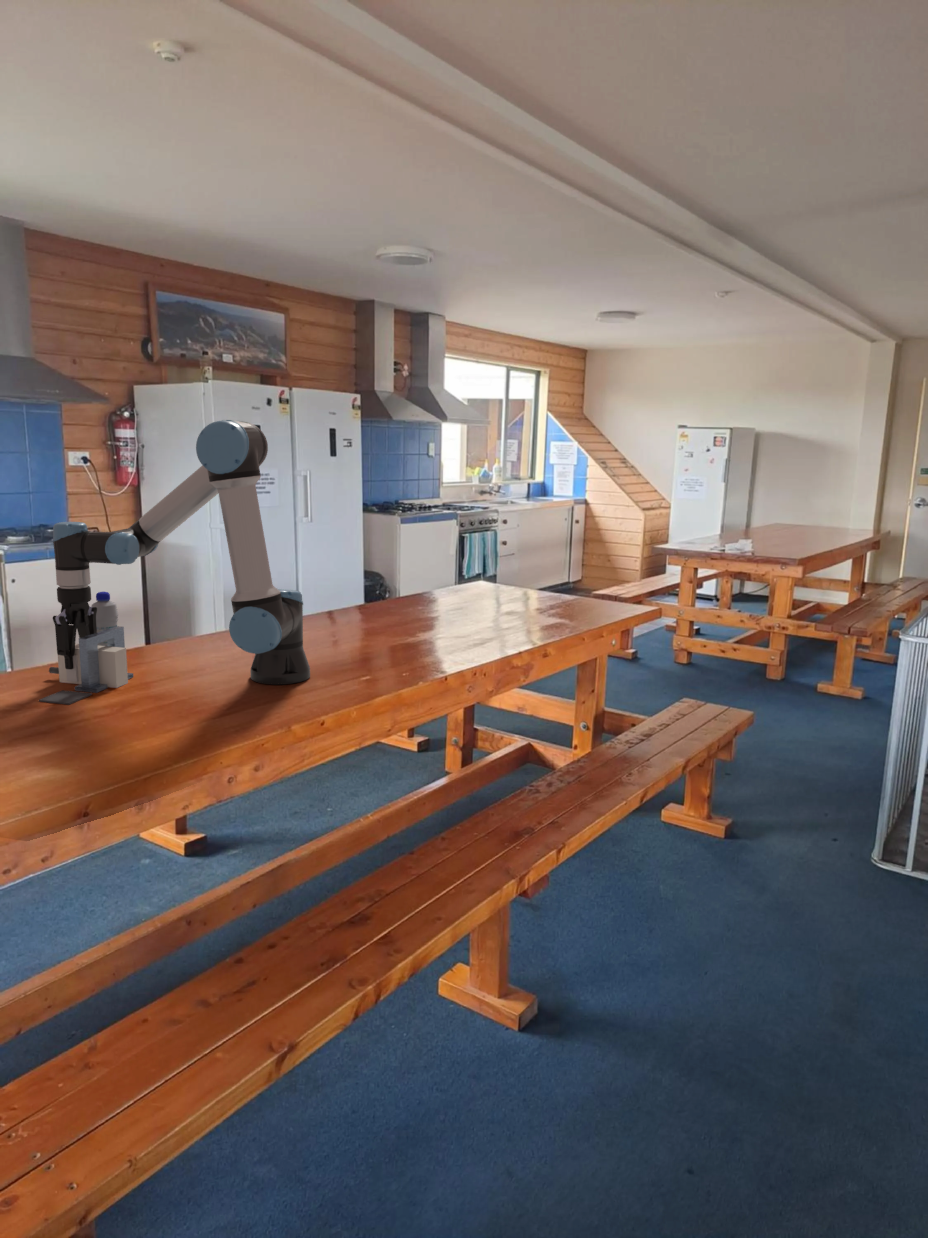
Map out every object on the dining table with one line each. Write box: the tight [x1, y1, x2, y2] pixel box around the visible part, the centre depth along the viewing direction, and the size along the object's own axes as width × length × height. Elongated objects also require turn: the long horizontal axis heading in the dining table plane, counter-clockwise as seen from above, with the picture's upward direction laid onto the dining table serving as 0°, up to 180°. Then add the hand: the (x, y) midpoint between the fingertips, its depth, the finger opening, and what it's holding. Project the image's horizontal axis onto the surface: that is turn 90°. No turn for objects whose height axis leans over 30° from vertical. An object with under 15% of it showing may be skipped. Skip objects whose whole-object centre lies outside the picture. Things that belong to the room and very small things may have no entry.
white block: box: [48, 642, 129, 689], centre depth 208 cm, size 20×4×9 cm, turn 77°
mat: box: [38, 689, 93, 705], centre depth 195 cm, size 8×8×1 cm
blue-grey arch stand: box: [74, 625, 134, 694], centre depth 206 cm, size 6×14×13 cm, turn 167°
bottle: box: [91, 591, 119, 646], centre depth 222 cm, size 7×7×20 cm
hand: (79, 678), depth 209 cm, fingers closed on white block, 4 cm apart
